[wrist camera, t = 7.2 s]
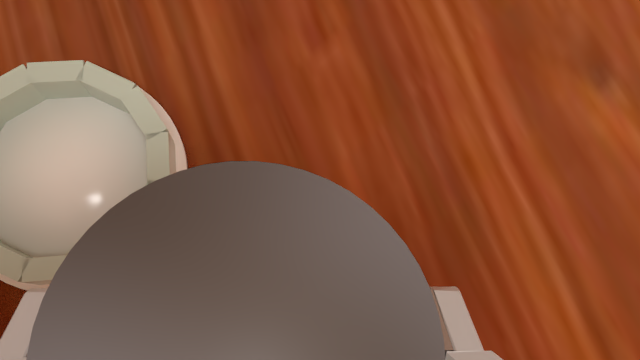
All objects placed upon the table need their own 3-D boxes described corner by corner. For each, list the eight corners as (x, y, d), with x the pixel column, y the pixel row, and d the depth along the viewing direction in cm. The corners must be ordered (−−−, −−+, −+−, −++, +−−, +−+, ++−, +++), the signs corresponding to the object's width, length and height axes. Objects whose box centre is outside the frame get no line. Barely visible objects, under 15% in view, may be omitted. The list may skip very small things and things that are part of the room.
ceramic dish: (119, 334, 27) (102, 336, 24) (-92, 233, 27) (-132, 223, 24) (227, 131, 30) (222, 112, 27) (34, 41, 30) (11, 14, 27)
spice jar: (299, 467, 15) (346, 680, 6) (126, 384, 15) (-64, 481, 6) (375, 289, 16) (502, 261, 8) (214, 213, 16) (155, 99, 8)
